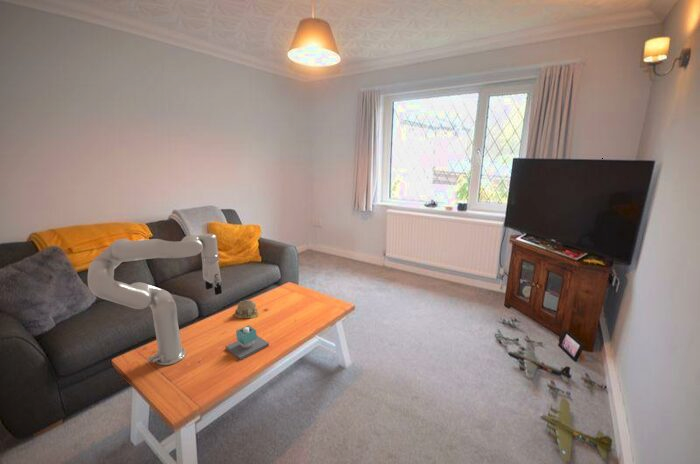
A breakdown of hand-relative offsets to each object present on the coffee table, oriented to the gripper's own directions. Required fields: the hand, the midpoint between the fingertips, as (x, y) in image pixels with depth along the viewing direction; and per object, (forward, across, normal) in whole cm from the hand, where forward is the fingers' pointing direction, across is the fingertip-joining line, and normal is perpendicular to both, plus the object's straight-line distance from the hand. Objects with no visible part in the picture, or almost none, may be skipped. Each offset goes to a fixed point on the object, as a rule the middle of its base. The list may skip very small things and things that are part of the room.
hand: (213, 291), depth 159 cm
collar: (+24, +16, +7) cm, 29 cm away
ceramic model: (+29, -15, +25) cm, 41 cm away
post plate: (+28, +16, +7) cm, 33 cm away
